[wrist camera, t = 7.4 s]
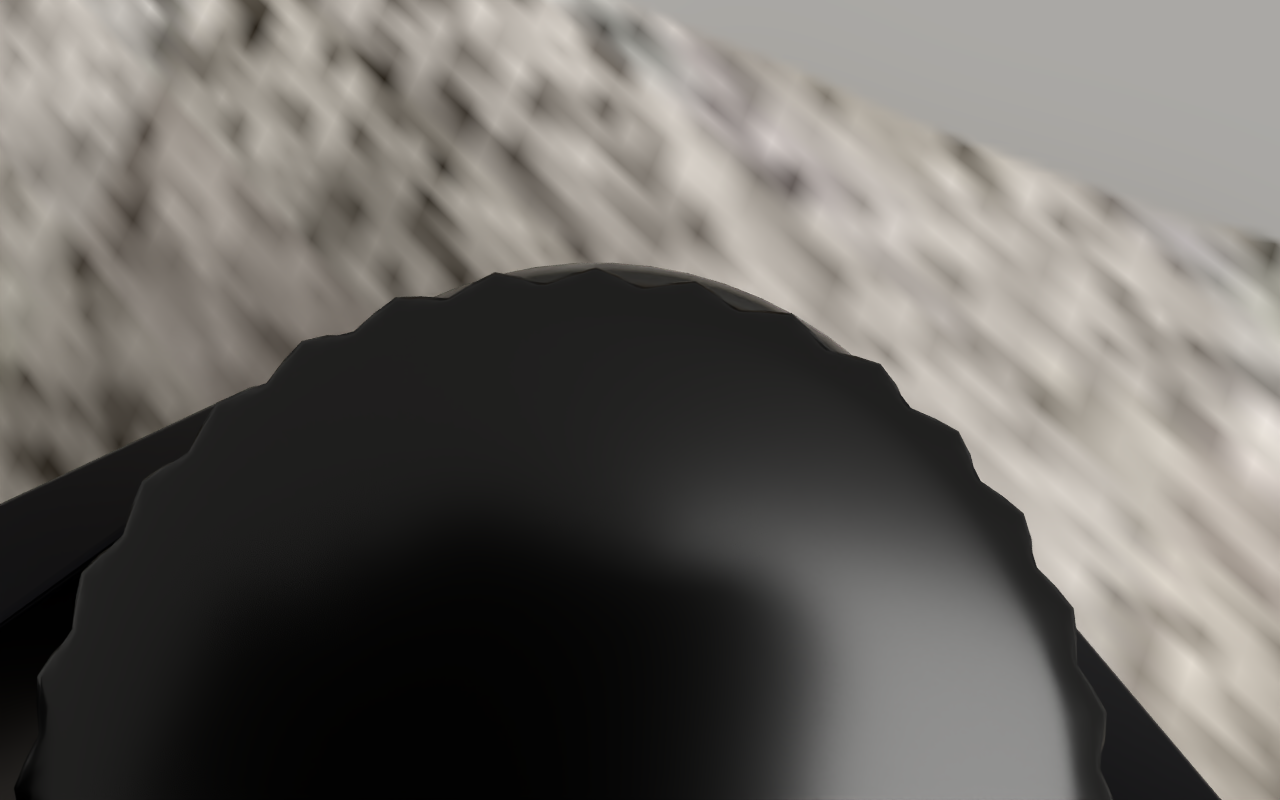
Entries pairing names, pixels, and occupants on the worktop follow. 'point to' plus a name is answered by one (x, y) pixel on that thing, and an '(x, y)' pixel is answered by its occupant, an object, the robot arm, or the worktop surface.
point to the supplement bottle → (570, 575)
